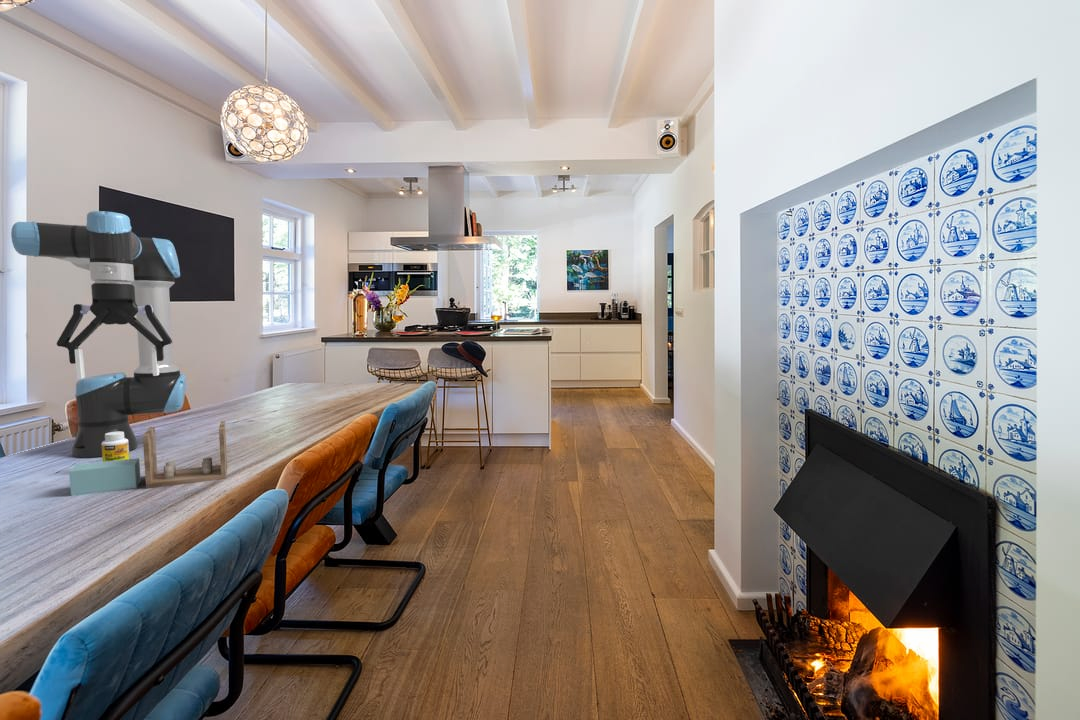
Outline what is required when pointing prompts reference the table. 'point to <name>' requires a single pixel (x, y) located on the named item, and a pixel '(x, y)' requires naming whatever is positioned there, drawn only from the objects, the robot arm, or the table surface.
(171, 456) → the table surface
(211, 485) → the table surface
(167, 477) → the peg bracket
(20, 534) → the table surface
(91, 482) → the shelf board
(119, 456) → the supplement bottle
